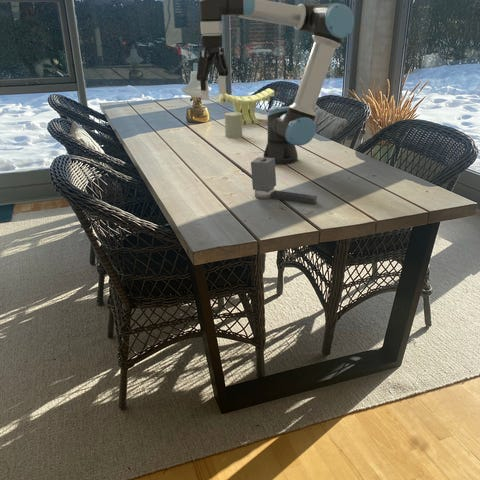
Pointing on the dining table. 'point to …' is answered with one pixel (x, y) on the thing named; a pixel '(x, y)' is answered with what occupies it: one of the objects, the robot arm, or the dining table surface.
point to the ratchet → (285, 196)
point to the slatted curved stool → (243, 102)
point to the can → (233, 124)
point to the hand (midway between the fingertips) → (213, 96)
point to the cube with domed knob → (263, 173)
